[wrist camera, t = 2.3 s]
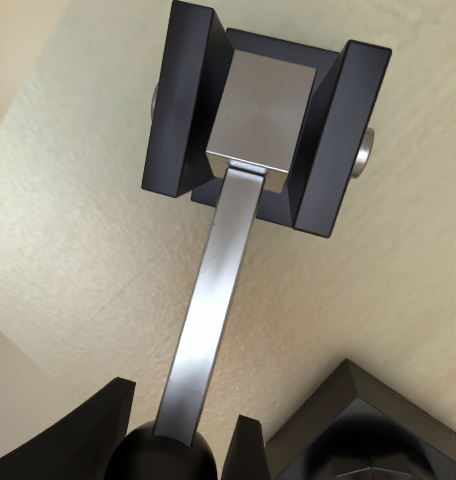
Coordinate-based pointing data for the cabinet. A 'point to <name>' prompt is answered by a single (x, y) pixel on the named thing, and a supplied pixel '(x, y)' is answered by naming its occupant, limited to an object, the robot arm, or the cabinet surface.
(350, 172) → the bracket
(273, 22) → the cabinet surface
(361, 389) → the button housing
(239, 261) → the lever
